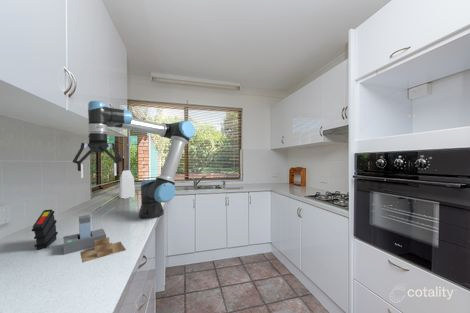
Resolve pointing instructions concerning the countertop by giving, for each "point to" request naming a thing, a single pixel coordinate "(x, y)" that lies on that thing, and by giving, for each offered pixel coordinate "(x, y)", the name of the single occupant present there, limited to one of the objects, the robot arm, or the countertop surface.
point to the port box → (82, 241)
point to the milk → (126, 185)
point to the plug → (84, 226)
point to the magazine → (45, 229)
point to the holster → (101, 249)
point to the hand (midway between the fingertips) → (99, 176)
